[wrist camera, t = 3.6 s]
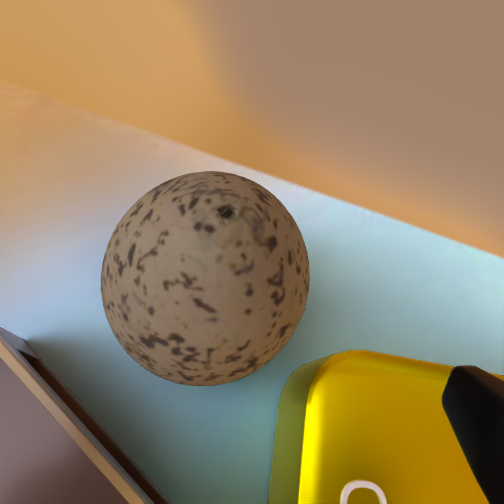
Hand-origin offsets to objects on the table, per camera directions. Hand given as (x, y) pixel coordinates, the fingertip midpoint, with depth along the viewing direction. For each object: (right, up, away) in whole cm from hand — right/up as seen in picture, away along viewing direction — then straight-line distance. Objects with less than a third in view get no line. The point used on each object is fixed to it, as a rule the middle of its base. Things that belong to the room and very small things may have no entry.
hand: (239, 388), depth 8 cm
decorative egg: (-2, 0, +11) cm, 12 cm away
